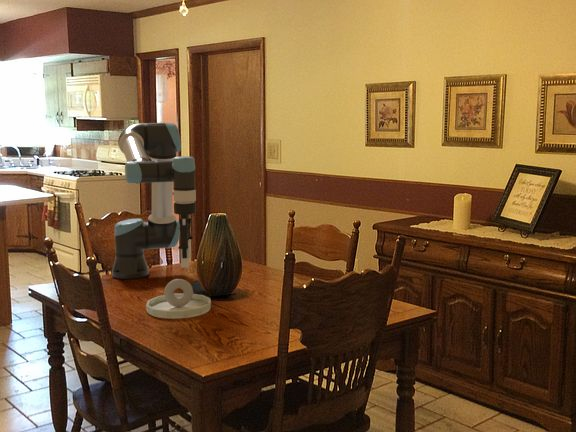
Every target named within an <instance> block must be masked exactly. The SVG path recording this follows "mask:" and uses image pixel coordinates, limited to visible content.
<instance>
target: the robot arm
mask: <svg viewBox="0 0 576 432" xmlns="http://www.w3.org/2000/svg"><path fill="white" fill-rule="evenodd" d="M117 142H118V143H117V144H118V148H119V150H120V151H121V153H122V154H123V155H124V157H125V160H126V163H125V164H124V177H125V181H126V183H128V184H136V185H137V184H146V183H147V184H149V183H151V214H150V215H149V216H148V218H147V221H143V219H142V218H129V219H124V220H121V221H119V222H116V224H115V225H114V234H113V236H114V249H115V250H114V253H115V255H114V256H115V259H114V262H113V265H112V269H111V276H112V277H113V278H115V279H121V280H122V279H123V280H131V279H139V278H144V277H146V276H147V277H148V275H149V274H150V273H149V272H150V271H149V270H150V269H149V266H148V263H147V261H146V258H145V253H144V252H145V251H144V250H155V249H157V250H158V249H166V250H167V249H169V248H175V247H178V249H179V250H180V268H182V269H183V268H190V259H192V240H193V239H194V238H193V235H192V233H191V232H192V230H191V228H192V217H191V215H194V214H196V213H197V203H196V201H197V189H196V167H197V166H196V163H195V160H196V159H195V158H194V156H188V155H186V156H184V155H183V156H182V155H181V156H178V155H177V153H180V152H181V150H182V141H181V135H180V131H179V129H178V126H177V125H176V123H173V122H171V123H170V122H146V123H145V122H139V123H138V122H137V123H134V124H131V125H129V126H127V127H126V128H125V129H123V130H122V131H121V133H120V134H119V137H118V140H117ZM149 159H150V160H149ZM173 201H174V203H173ZM173 213H174V214H173ZM176 215H181V216H180V218H179V219H177V217H176ZM179 242H180V245H179V246H177V245H178V243H179Z"/></svg>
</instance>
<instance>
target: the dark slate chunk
mask: <svg viewBox="0 0 576 432" xmlns="http://www.w3.org/2000/svg"><path fill="white" fill-rule="evenodd" d="M199 280H200V279H198V280H196V281H193V282H192V283H191V286H192V289H193V294H199V295H204V296H206V297H208V298H211V297H210V295H209V293H208V292H207V291H206V290H205V289H204V288H203V287H202V285H201V284H200V281H199ZM233 295H235V290H234V291H233V293H232V295H231V296H233Z"/></svg>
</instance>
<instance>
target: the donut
mask: <svg viewBox="0 0 576 432" xmlns="http://www.w3.org/2000/svg"><path fill="white" fill-rule="evenodd" d="M178 289H181V290H182V291H183V295H182V296H181V297H176V296H175V295H174V294H175V291H176V290H178ZM163 291H164V292H163V295H164V296H165V299H166V301H167V302H168V303H169V304H170V305H172V306H174V307H182V306H185V305H186V304H188V303H189V302H190V301H191V299H192V296H193V294H194V293H193V289H192V284H191V283H190V282H189V281H187V280H185V279H183V278H175V279H172V280H171V281H169V282H168V283H167V284H166V285H165V288H164V290H163Z"/></svg>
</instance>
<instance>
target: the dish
mask: <svg viewBox="0 0 576 432" xmlns="http://www.w3.org/2000/svg"><path fill="white" fill-rule="evenodd" d="M174 295H175V296H176V297H181V296H182V295H183V293H174ZM211 304H212V300H211V297H206V296H204V295H199V294H194V293H193V296H192V299H191V301H190V302H189V303H188V304H186V305H185V306H182V307H174V306H172V305H170V304H169V303H168V302H167V301H166V299H165V296H164V294H163V295H158V296H156V297H153V298H151V299H148V300H147V302H146V304H145V310H146V312H147V314H148V315H150V316H151V317H154V318H155V317H156V318H158V319H159V318H160V319H166V320H167V319H168V320H170V319H171V320H177V319H179V320H180V319H189V318H195V317H199V316H202V315H205V314H207V313H209V311H210V310H211V306H212V305H211Z"/></svg>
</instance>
